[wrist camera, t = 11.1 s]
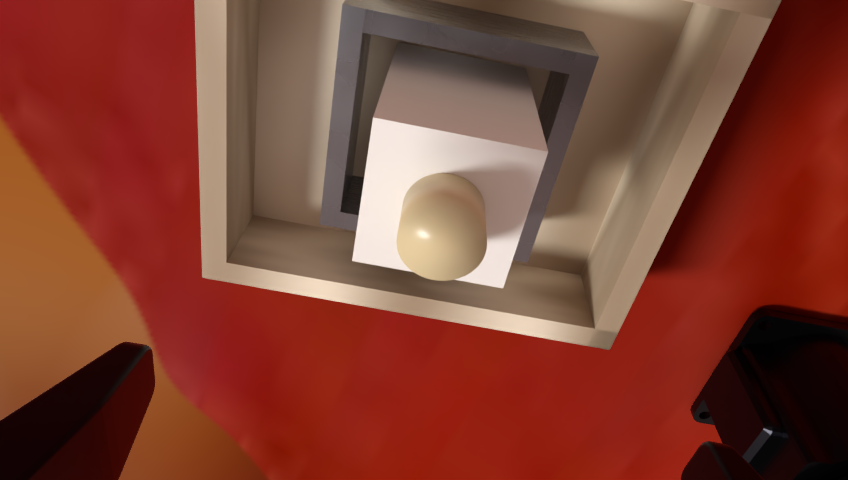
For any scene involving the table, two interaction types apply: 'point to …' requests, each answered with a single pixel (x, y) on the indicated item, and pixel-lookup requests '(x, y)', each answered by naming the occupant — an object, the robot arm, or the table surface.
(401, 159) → the connector plug
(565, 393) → the table surface
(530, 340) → the table surface
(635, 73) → the socket box
